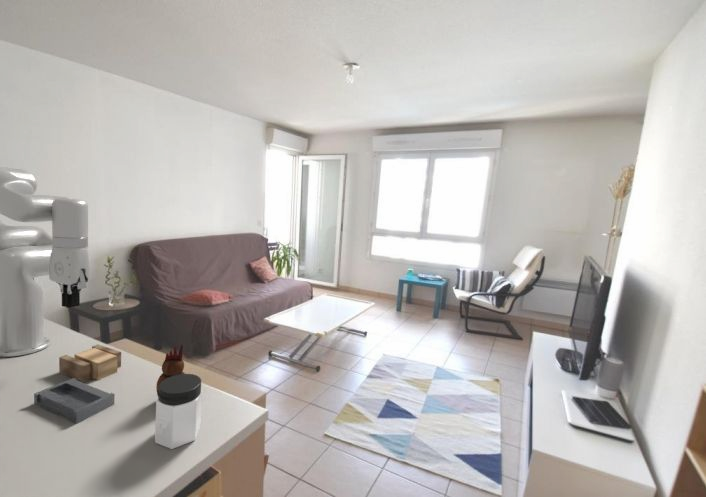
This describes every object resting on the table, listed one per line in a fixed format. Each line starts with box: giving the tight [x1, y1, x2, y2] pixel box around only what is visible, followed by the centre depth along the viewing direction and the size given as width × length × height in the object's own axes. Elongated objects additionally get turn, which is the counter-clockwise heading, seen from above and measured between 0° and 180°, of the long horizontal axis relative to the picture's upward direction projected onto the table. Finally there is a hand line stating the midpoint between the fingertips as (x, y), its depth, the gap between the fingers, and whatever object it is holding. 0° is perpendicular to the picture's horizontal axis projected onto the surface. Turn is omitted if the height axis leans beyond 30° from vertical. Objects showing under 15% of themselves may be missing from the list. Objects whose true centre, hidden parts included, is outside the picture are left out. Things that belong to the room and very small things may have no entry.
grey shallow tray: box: [33, 377, 115, 424], centre depth 76 cm, size 15×8×3 cm, turn 71°
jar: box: [154, 373, 203, 450], centre depth 69 cm, size 9×8×12 cm
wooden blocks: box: [58, 343, 122, 383], centre depth 91 cm, size 10×10×4 cm
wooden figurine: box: [155, 343, 186, 396], centre depth 80 cm, size 7×6×15 cm
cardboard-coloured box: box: [74, 347, 118, 381], centre depth 90 cm, size 10×5×5 cm, turn 70°
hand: (70, 305), depth 92 cm, fingers closed
